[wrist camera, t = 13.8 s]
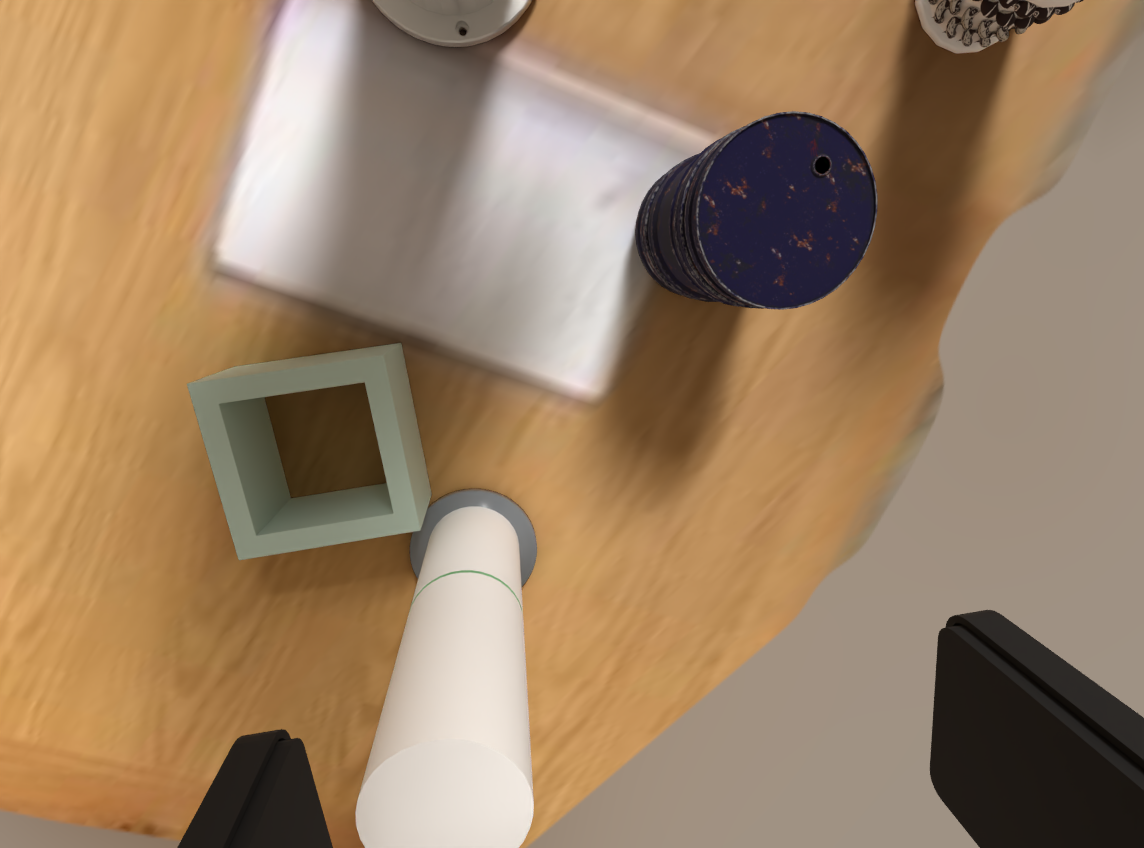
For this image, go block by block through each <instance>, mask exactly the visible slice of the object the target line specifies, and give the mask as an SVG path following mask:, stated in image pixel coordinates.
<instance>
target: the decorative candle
mask: <svg viewBox="0 0 1144 848" xmlns="http://www.w3.org/2000/svg"><path fill="white" fill-rule="evenodd" d="M1081 1H1083V0H915V6H916V9H917V13H918V16H919V19H920V22H921V26H922V28H923V30H924V31H925V32H926V33H927V34H928V35H929V37H930V38H931V39H932V40H933V41H934V43H935V44H936V45H937V46H940V47H942V48H944V49H946V50H949V51H951V52H953V53H956V54H958V53H973V52H979V51H981V50H983V49H985V48H987V47H988V46H990V45H992V44H994V43H996V42H998V41H1000V42H1004V41H1006V40H1007V39H1008V37H1009V31H1010V29H1015V32H1016V33H1017V34H1022V33H1024V32H1025V31H1026V30H1027V28H1028V27H1029V26H1031V25H1032V24H1033V22H1035V23H1036V24H1042V23H1045V22H1046V21H1048V20H1049V19H1050V18H1051V16H1052V15H1053V14H1054V13H1055V14H1057V15H1062V14H1065V13H1067V12H1068V11H1070V10H1071V9H1072V7H1073V6H1074V4H1075V2H1076V3H1078V2H1081ZM1014 25H1015V26H1014ZM1012 26H1014V27H1012ZM1011 27H1012V28H1011Z"/></svg>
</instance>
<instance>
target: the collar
mask: <svg viewBox="0 0 1144 848" xmlns="http://www.w3.org/2000/svg"><path fill="white" fill-rule="evenodd" d="M363 382H365V386H366V390H367V395H368V400H369V404H370V409H371V413H372V418H373V422H374V427H375V431H376V436H377V440H378V445H379V450H380V454H381V459H382V463H383V468H384V472H385V477H386V481H387V483H384V484H378V485H371V486H365V487H359V488H352V489H346V490H340V491H334V492H327V493H321V494H315V495H308V496H302V497H296V498H291V497H290V493H289V489H288V485H287V481H286V478H285V474H284V470H283V466H282V462H281V459H280V455H279V451H278V447H277V443H276V440H275V436H274V432H273V428H272V424H271V421H270V417H269V413H268V409H267V405H266V402H265V398H264V397H268V396H275V395H281V394H288V393H295V392H302V391H309V390H315V389H322V388H329V387H336V386H343V385H349V384H356V383H363ZM187 386H188V390H189V393H190V396H191V400H192V403H193V407H194V410H195V413H196V417H197V420H198V424H199V427H200V430H201V434H202V437H203V441H204V444H205V447H206V451H207V454H208V458H209V461H210V464H211V468H212V471H213V475H214V478H215V481H216V485H217V488H218V492H219V495H220V498H221V502H222V505H223V509H224V512H225V515H226V519H227V522H228V526H229V529H230V532H231V536H232V539H233V543H234V546H235V549H236V553H237V556H238V560H244V559H250V558H256V557H262V556H269V555H275V554H281V553H287V552H293V551H299V550H305V549H311V548H317V547H323V546H329V545H335V544H341V543H347V542H354V541H360V540H366V539H372V538H378V537H384V536H390V535H396V534H402V533H408V532H414V531H420V530H421V527H422V524H423V521H424V518H425V514H426V511H427V508H428V505H429V502H430V499H431V495H432V493H431V488H430V483H429V478H428V473H427V468H426V463H425V458H424V453H423V448H422V443H421V438H420V433H419V428H418V423H417V418H416V413H415V408H414V403H413V399H412V394H411V389H410V384H409V379H408V374H407V369H406V364H405V359H404V354H403V349H402V344H401V343H396V344H389V345H382V346H375V347H368V348H361V349H354V350H347V351H340V352H333V353H326V354H319V355H312V356H305V357H298V358H291V359H284V360H277V361H270V362H263V363H256V364H249V365H242V366H235V367H232V368H229V369H226V370H223V371H221V372H218V373H215V374H212V375H210V376H207V377H204V378H201V379H199V380H196V381H193V382H190V383H188V384H187Z"/></svg>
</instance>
